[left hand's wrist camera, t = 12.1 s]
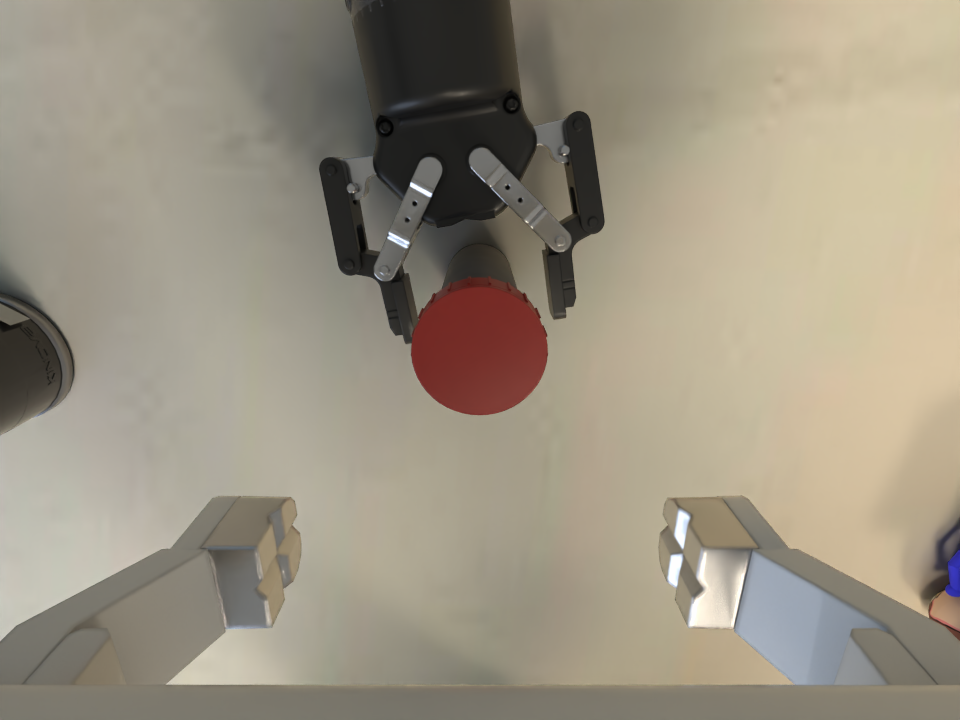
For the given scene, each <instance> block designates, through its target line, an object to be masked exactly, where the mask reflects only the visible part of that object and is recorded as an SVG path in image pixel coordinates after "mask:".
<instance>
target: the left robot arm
mask: <svg viewBox="0 0 960 720" xmlns="http://www.w3.org/2000/svg"><path fill="white" fill-rule="evenodd" d="M296 516H297V511H296V506H295V501H294V500H293V499H292V498H291V497H263V496H242V497H241V496H218V497H215V498H212V499H211V500H210V502H209V503H208V504H207V505H206V507H205V508H204V509H203V510H202V511H201V513H200V514H199V515H198V516H197V517H196V519H195V520H194V521H193V522H192V523H191V525H190V526H189V527H188V528H187V529H186V531H185V532H184V533H183V534H182V535H181V537H180V538H179V539H178V540H177V542H176V543H175V544H174V545H173V546H172V548H171V549H161V550H160V551H158V552H156V553H154V554H152V555H150V556H148V557H146V558H144V559H142V560H141V561H139V562H137V563H135V564H133V565H131V566H129V567H127V568H125V569H123V570H122V571H120V572H118V573H116V574H114V575H112V576H110V577H108V578H106V579H104V580H103V581H101V582H99V583H97V584H95V585H93V586H91V587H89V588H87V589H85V590H84V591H82V592H80V593H78V594H76V595H74V596H72V597H70V598H68V599H66V600H65V601H63V602H61V603H59V604H57V605H55V606H53V607H51V608H49V609H47V610H46V611H44V612H42V613H40V614H38V615H36V616H34V617H32V618H30V619H28V620H27V621H25V622H23V623H21V624H19V625H17V626H16V627H15V628H14V629H13V630H12V631H11V632H9V633H8V634H7V635H6V636H5V637H4V638H3V639H2V640H1V641H0V720H960V641H959V640H958V639H957V638H956V637H955V636H954V635H953V634H952V633H951V632H950V631H949V630H948V629H947V628H946V627H944V626H943V625H941V624H939V623H937V622H935V621H933V620H931V619H929V618H927V617H925V616H924V615H922V614H920V613H918V612H916V611H914V610H912V609H910V608H908V607H907V606H905V605H903V604H901V603H899V602H897V601H895V600H893V599H891V598H889V597H888V596H886V595H884V594H882V593H880V592H878V591H876V590H874V589H872V588H871V587H869V586H867V585H865V584H863V583H861V582H859V581H857V580H855V579H853V578H852V577H850V576H848V575H846V574H844V573H842V572H840V571H838V570H836V569H835V568H833V567H831V566H829V565H827V564H825V563H823V562H821V561H819V560H817V559H816V558H814V557H812V556H810V555H808V554H806V553H804V552H802V551H800V550H799V549H789V548H788V546H787V545H786V544H785V543H784V542H783V540H782V539H781V538H780V537H779V536H778V534H777V533H776V532H775V531H774V530H773V528H772V527H771V526H770V525H769V523H768V522H767V521H766V520H765V519H764V517H763V516H762V515H761V514H760V513H759V511H758V510H757V509H756V508H755V507H754V505H753V504H752V503H751V502H750V501H749V499H747V498H746V497H744V496H717V497H684V498H667V500H666V502H665V504H664V510H663V516H664V518H665V520H666V522H667V524H668V526H667V527H666V528H665V529H664V530H663V531H662V532H661V533H660V538H659V559H660V564H661V568H662V571H663V574H664V576H665V578H666V581H667V582H668V583H670V584H671V585H672V586H674V587H675V588H676V589H677V590H676V597H675V600H676V603H677V605H678V607H679V609H680V611H681V613H682V615H683V618H684V620H685V622H686V624H687V626H688V628H711V629H735V630H734V632H736V633H737V634H738V635H739V636H740V637H741V638H742V639H744V640H745V641H746V642H747V643H748V644H749V645H750V646H751V647H753V648H754V649H755V650H756V651H757V652H758V653H759V654H761V655H762V656H763V657H764V658H765V659H766V660H767V661H769V662H770V663H771V664H772V665H773V666H774V667H775V668H777V669H778V670H779V671H780V672H781V673H782V674H783V675H785V676H786V677H787V678H788V679H789V680H790V681H791V682H792V683H794V684H795V685H165V684H166V683H168V682H169V681H170V680H171V679H172V678H173V677H174V676H176V675H177V674H178V673H179V672H180V671H181V670H182V669H184V668H185V667H186V666H187V665H188V664H189V663H190V662H192V661H193V660H194V659H195V658H196V657H197V656H198V655H200V654H201V653H202V652H203V651H204V650H205V649H206V648H208V647H209V646H210V645H211V644H212V643H213V642H214V641H216V640H217V639H218V638H219V637H220V636H221V635H222V634H224V633H225V631H226V630H225V629H248V628H272V626H273V624H274V622H275V620H276V618H277V616H278V613H279V611H280V609H281V607H282V605H283V603H284V600H285V597H284V590H283V589H284V588H285V587H286V586H288V585H289V584H290V583H292V582H293V581H294V578H295V576H296V574H297V571H298V568H299V563H300V558H301V537H300V533H299V532H298V531H297V530H296V529H295V528H294V527H293V526H292V524H293V522H294V520H295V518H296Z"/></svg>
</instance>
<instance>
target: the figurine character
mask: <svg viewBox="0 0 960 720" xmlns="http://www.w3.org/2000/svg"><path fill="white" fill-rule="evenodd" d="M948 571H949V581H950V584H948V585H947V586H946V588H945V590H944V591H941V592H940V593H938V594H937V595H935V596H934V597H933V599H932V600H931V602H930V605H929V618H930V619H931V620H933V621H935V622H937V623H939V624H941V625H943V626H944V627H946V628H947V629H948V630H949V631H950V632H951V633H952V634H953V635H954V636H955V637H956V638H957V639H958V640H959V641H960V549H959V550H958V551H957V553H956V554H955V555H954V556H953V557H952V558H951V559H950V561H948Z"/></svg>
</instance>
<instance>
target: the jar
mask: <svg viewBox="0 0 960 720" xmlns="http://www.w3.org/2000/svg"><path fill="white" fill-rule="evenodd" d="M469 276H470V277H471V278H476V277H482V278H488V276H490V277H491V279H496V280H499V281H502V282H505V283H507V282H509V283H510V285H511V286H513V287H514V288H516V289H517V287H516V284H515V281H514V277H513V274H512V271H511V268H510V265H509V263H508V260H507V259H506V257H505V256H504V255H503V254H502V253H501V252H500V251H499V250H497V249H496V248H494V247H492V246H489V245H485V244H474V245H470V246H467V247H465V248H463V249H462V250H460V251H459V252H458V253H457V254H456V255H455V256H454V257H453V259H452V260H451V262H450V265H449V268H448V271H447V274H446V277H445V280H444V283H443V287H442V289H443V288H444V287H446V286H448V284H449V283H450V282H451V283H454V282H457V281H460V280H463V279H468V277H469Z"/></svg>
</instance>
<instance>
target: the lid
mask: <svg viewBox="0 0 960 720" xmlns="http://www.w3.org/2000/svg"><path fill="white" fill-rule="evenodd" d="M540 318H541V317H540V314H539V312H538V309H537V308H534V307H533V305H532V304H531V302H530V301H529V300H528V298H527V296H526V294H525V293H523V294H522V293H521V292H520V291H519V290H517V289H516V288H514V287H513V286H511V285H510V283H509V282H507V283H505V282H502V281H499V280H496V279H491V277H490V276H488V278H482V277H476V278H471V277H470V276H469V277H468V279H463V280H460V281H457V282H454V283H451V282H450V283H449V284H448V286H446V287H444V288H443V289H442V290H440V291H439V292H438V293H437V294H435V293H434V294H433V295H432V298H431V300H430V301H429V302H428V303H427V305H426V306H425V308H422V309H421V312H420V314H419V316H418V319H419V321H418V323H417V326H415V328H414V330H413V333H412V336H411V337H413V339H412V345H411V356H412V363H413V367H414V370H415V373H416V375H417V378H418V380H419V381H420V383H421V385H422V386H423V387H424V389H425V390H426V391H427V392H428V393H429V394H430V395H431V396H432V397H433V398H434V399H435V400H436V401H438V402H439V403H440V404H442V405H444V406H446V407H447V408H450V409H452V410H454V411H457V412H460V413H465V414H470V415H489V414H494V413H498V412H502V411H505V410H507V409H509V408H512V407H513V406H515V405H517V404H518V403H520V402H521V401H523V400H524V399H525V398H526V397H527V396H528V395H529V394H530V393H531V392H532V391H533V390H534V389H535V387H536V386H537V385H538V383H539V381H540V379H541V377H542V375H543V373H544V370H545V366H546V362H547V356H548V348H547V339H546V337H547V333H546V331H545V328H544V326H543V325H542V324H541V321H540Z"/></svg>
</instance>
